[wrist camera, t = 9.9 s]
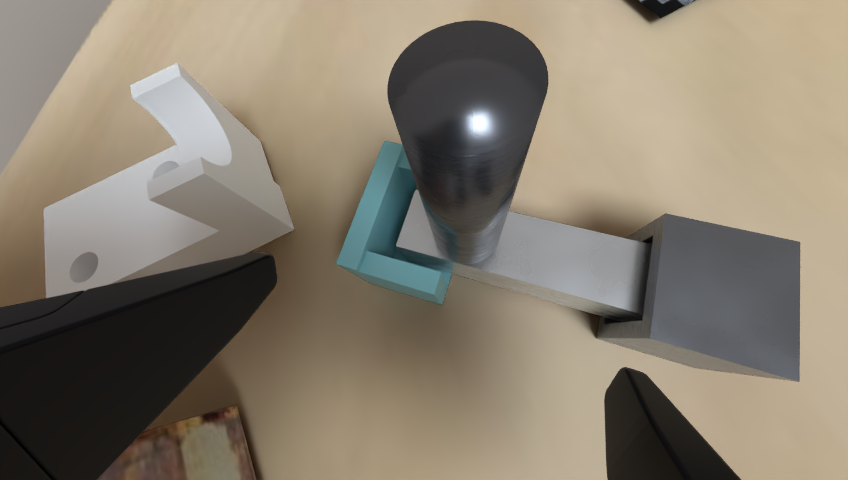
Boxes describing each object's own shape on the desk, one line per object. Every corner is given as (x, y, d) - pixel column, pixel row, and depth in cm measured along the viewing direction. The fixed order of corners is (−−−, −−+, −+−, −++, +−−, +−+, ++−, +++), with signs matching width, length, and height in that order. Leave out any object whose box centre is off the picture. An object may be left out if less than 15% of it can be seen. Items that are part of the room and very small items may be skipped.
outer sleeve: (703, 269, 16) (799, 242, 12) (695, 368, 15) (799, 381, 10) (610, 247, 17) (665, 213, 13) (596, 338, 16) (650, 338, 11)
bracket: (268, 149, 23) (177, 62, 16) (296, 230, 20) (204, 173, 13) (106, 227, 23) (-61, 176, 16) (115, 318, 20) (-75, 308, 13)
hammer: (638, 265, 16) (1070, 82, 4) (630, 324, 15) (1119, 283, 4) (423, 212, 18) (350, 6, 7) (407, 260, 18) (296, 119, 6)
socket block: (472, 203, 19) (474, 158, 14) (442, 305, 18) (433, 293, 13) (403, 187, 20) (384, 140, 15) (369, 282, 18) (335, 263, 14)
